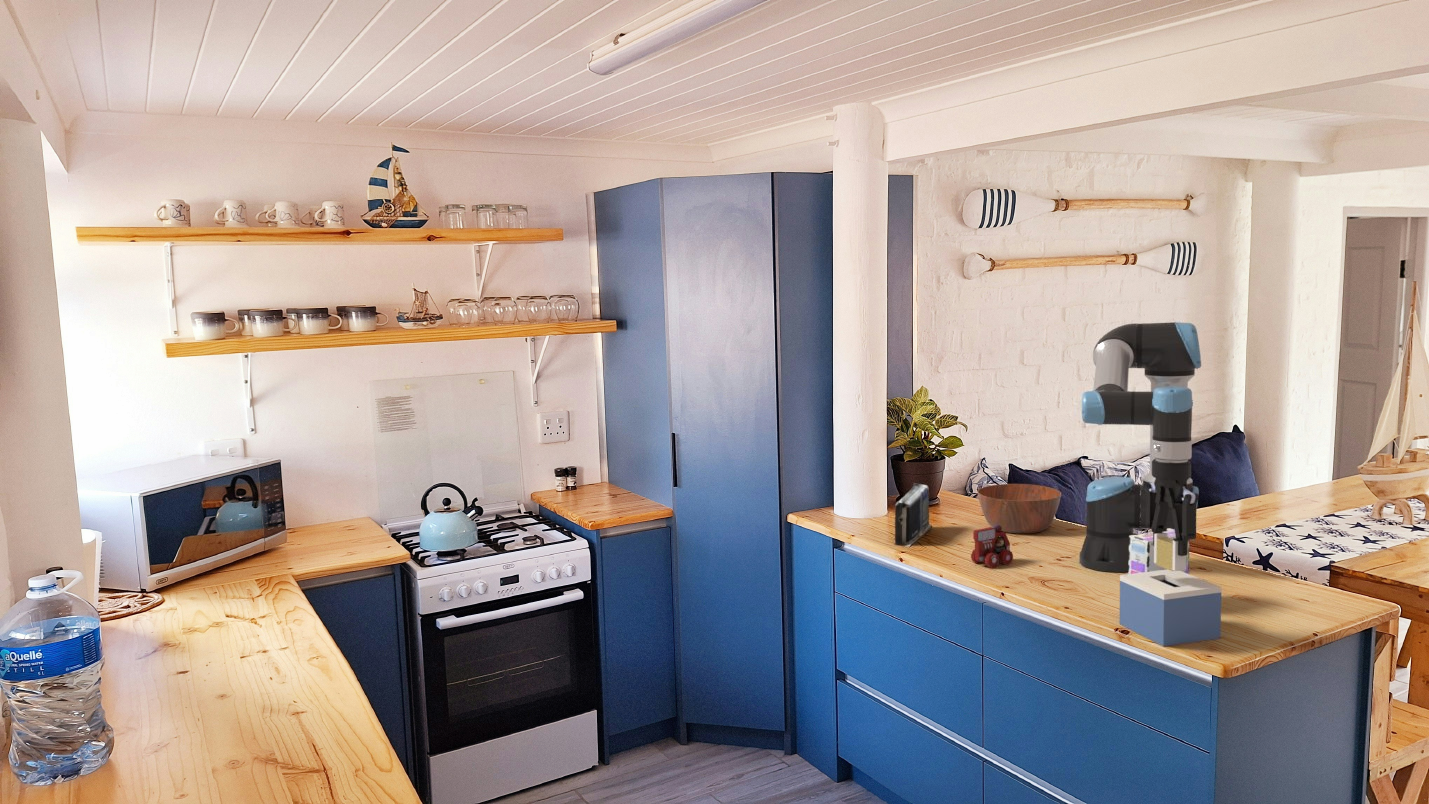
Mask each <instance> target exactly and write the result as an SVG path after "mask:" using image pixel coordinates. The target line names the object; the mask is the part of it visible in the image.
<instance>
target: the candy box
mask: <svg viewBox="0 0 1429 804" xmlns="http://www.w3.org/2000/svg"><path fill="white" fill-rule="evenodd" d="M1163 533H1168V535H1167V538H1170V539H1174V538H1176V535H1175V530H1174V529H1170V528H1168V529H1167V531H1165V532H1163ZM1181 535H1182V534H1181ZM1128 565H1129V566H1128V571H1127V574H1134V573H1142V572H1150V571H1158V570H1167V569H1165V568H1162V567H1160V566H1157V565H1156V563H1154V546H1153V532H1152V531H1148V532H1144V533H1139V534H1133V535H1130V536H1129V563H1128ZM1180 571H1182V572H1185V573H1187V574H1190V540H1188V554H1187V556H1186V570H1180Z"/></svg>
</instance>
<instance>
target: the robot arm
mask: <svg viewBox="0 0 1429 804" xmlns="http://www.w3.org/2000/svg"><path fill="white" fill-rule="evenodd" d="M1198 335H1199V334H1198V330H1197V328H1196V325H1194V324H1193V323H1190V322H1177V321H1174V322H1151V323H1146V322H1145V323H1126V324H1122V325H1120V326H1117V327H1115V328H1113V329H1111V330H1110V331H1108V332H1106V333H1105V334H1104V335H1103V336H1102V337H1101V338H1100V339H1099V340H1098V341H1097V342H1096V344H1095V346H1094V348H1093V352H1092V361H1093V363H1094V365H1095V370H1094V371H1095V373H1094V379H1093V380H1094V381H1093V388H1092V390H1091V391H1090V390H1087V391H1084V392H1083V393H1082V395H1081V420H1082V421H1083V422H1084V423H1085V424H1092V425H1093V424H1094V425H1098V426H1100V425H1101V426H1102V425H1121V426H1122V425H1125V426H1126V425H1128V426H1129V425H1130V426H1132V425H1135V426H1149V429H1150V430H1149V471H1148V473H1147V474H1146V475H1144V476H1143V478H1142V484H1141V483H1140V484H1139V483H1136V482H1135V481H1134V478H1132V477H1125V476H1117V477H1114V476H1113V477H1104V478H1099V479H1096V480H1093V481H1091V482H1089V484H1088V486H1087V489H1086V498H1085V501H1086V528H1085V529H1086V532H1085V533H1086V535H1085V537H1084V541H1083V544H1082V546H1081V550H1080V553H1079V559H1078V562H1079V564H1080V565H1081V566H1083V567H1084V568H1088V569H1090V570H1094V571H1101V572H1107V573H1109V572H1111V573H1125V572H1127V573H1128V566H1129V565H1128V563H1129V536H1130V535H1134V529H1141V530H1143V529H1146V530H1151V532H1153V546H1154V563H1156V557H1157V538H1164V537H1167V535H1168V533H1163V532H1165V531H1167V529H1168V528H1170V529H1174V530H1175V535H1176V538H1174V539H1173V564H1172V569H1173V570H1174V571H1178V570H1186V556H1187V554H1188V540H1189V541H1191V540H1196V538H1197V510H1198V501H1199V497H1200V496H1199V491H1200V490H1199V487H1198V486H1196V485H1193V479H1192V478H1191V477H1192V462H1191V461H1190V460H1191V459H1192V453H1193V452H1192V446H1193V444H1192V443H1193V442H1192V426H1193V406H1194V401H1193V392H1192V389H1190V387H1189V386H1188V384H1189V381H1191V379H1192V378H1193V377H1195V373H1196V372H1195V371H1196V369H1197V370H1198V369H1201V367H1202V359H1201V349H1200V342H1199V337H1198ZM1130 369H1144V377H1145V378H1147V379H1148V381H1150V391H1134V390H1133V391H1129V390H1128V389H1129V370H1130ZM1181 534H1182V535H1181Z"/></svg>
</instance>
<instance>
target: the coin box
mask: <svg viewBox="0 0 1429 804" xmlns="http://www.w3.org/2000/svg"><path fill="white" fill-rule="evenodd" d="M1221 619H1222V586H1221V585H1218V584H1216V583H1213V582H1210V581H1208V580H1204V579H1202V578H1200V577H1196V576H1194V575H1192V574H1190V573H1189V574H1187V573H1185V572H1182V571H1170V570H1168V569H1167V570H1158V571H1150V572H1142V573H1134V574H1128V573H1127V574H1120V575H1119V625H1121V626H1123V627H1124V628H1126V629H1128V630H1131V631H1132V632H1133V633H1137V634H1139V635H1140V636H1142V637H1144V638H1147V640H1150V641H1152V642H1154V643H1156V644H1158V645H1160V646H1162V647H1169V646H1174V645H1175V646H1176V645H1182V644H1188V643H1189V644H1190V643H1195V642H1196V643H1197V642H1202V641H1203V642H1204V641H1210V640H1211V641H1212V640H1216V639H1217V640H1218V639H1221V632H1222V631H1221V630H1222V629H1221V626H1222V624H1221V623H1222V622H1221Z"/></svg>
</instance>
